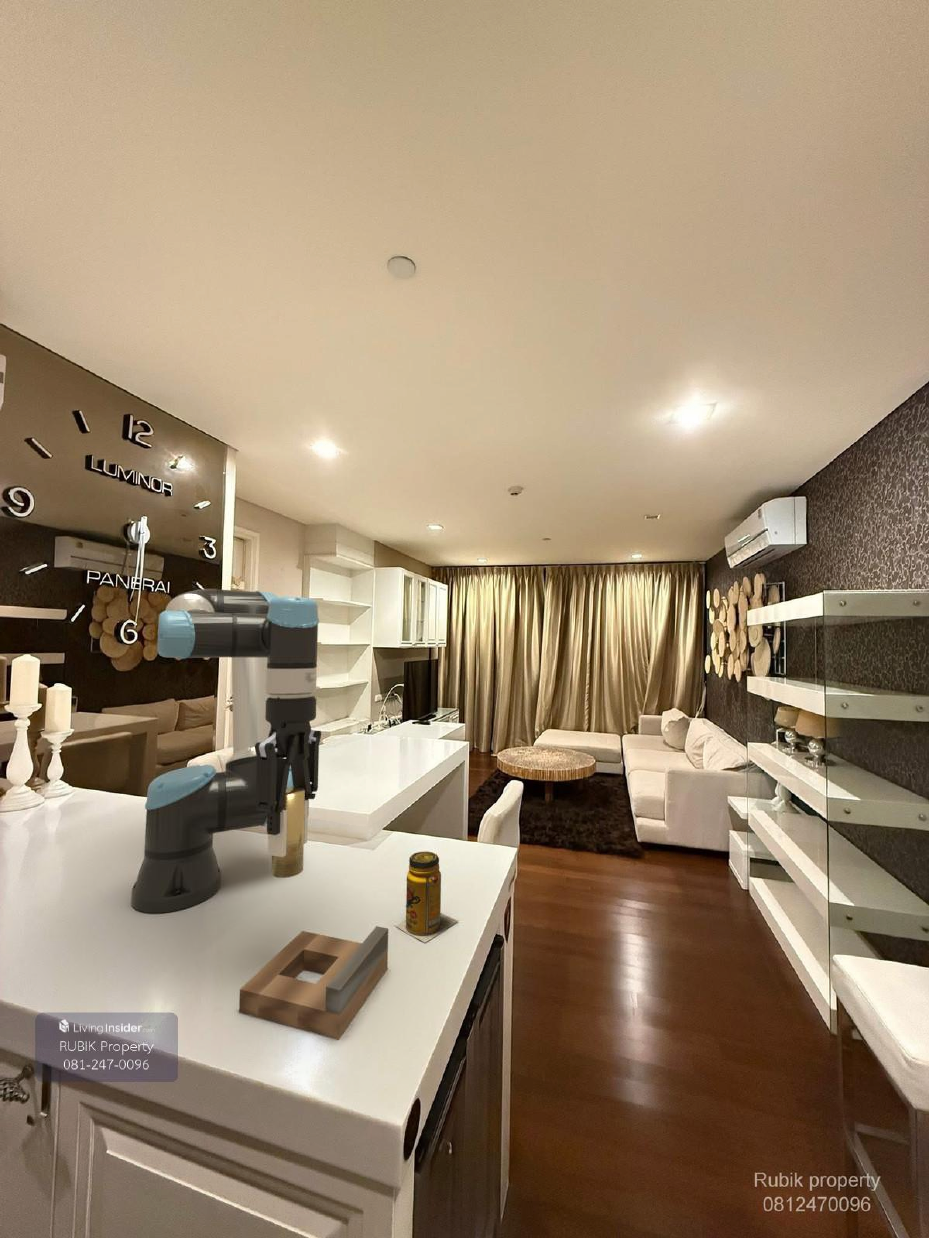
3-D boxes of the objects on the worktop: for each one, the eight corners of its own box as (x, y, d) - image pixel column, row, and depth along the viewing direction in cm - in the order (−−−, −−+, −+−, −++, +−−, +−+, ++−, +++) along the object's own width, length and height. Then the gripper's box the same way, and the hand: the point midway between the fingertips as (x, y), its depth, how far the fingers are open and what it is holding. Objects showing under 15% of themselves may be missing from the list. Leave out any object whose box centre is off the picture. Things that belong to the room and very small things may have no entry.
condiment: (395, 927, 86) (396, 856, 87) (429, 907, 93) (430, 842, 93) (424, 944, 82) (426, 869, 82) (458, 922, 88) (459, 853, 89)
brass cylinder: (264, 875, 75) (266, 793, 76) (284, 863, 79) (286, 786, 80) (290, 879, 73) (292, 796, 74) (309, 866, 78) (310, 788, 79)
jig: (239, 1012, 66) (240, 965, 66) (301, 949, 80) (302, 911, 80) (338, 1039, 62) (340, 989, 62) (387, 968, 75) (388, 928, 76)
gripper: (274, 701, 69) (270, 875, 67) (342, 692, 85) (340, 831, 84) (230, 699, 71) (225, 868, 69) (304, 691, 88) (301, 826, 86)
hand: (288, 847), depth 76 cm, fingers closed on brass cylinder, 4 cm apart
